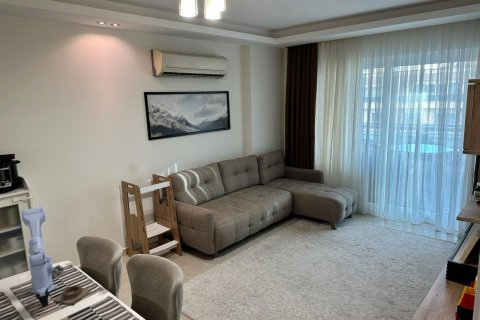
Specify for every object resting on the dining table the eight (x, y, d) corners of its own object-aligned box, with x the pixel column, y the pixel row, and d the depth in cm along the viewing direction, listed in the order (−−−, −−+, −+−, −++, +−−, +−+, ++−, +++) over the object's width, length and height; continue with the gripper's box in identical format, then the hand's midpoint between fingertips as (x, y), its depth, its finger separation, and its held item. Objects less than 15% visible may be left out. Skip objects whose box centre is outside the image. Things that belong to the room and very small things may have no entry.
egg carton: (45, 282, 175) (44, 275, 175) (40, 277, 180) (39, 271, 179) (65, 273, 184) (64, 267, 183) (60, 269, 188) (59, 263, 187)
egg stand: (53, 301, 158) (52, 295, 157) (72, 287, 169) (71, 281, 168) (73, 305, 154) (72, 299, 154) (91, 291, 166) (90, 284, 165)
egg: (37, 306, 154) (36, 298, 153) (45, 301, 158) (44, 292, 158) (45, 308, 153) (43, 299, 152) (53, 302, 157) (51, 294, 156)
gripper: (50, 281, 149) (54, 306, 151) (50, 267, 161) (54, 291, 163) (32, 286, 145) (37, 312, 148) (33, 271, 157) (37, 296, 160)
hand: (45, 301), depth 155 cm, fingers open, 7 cm apart
